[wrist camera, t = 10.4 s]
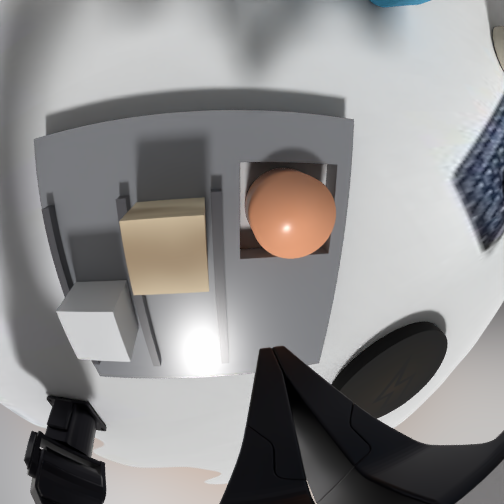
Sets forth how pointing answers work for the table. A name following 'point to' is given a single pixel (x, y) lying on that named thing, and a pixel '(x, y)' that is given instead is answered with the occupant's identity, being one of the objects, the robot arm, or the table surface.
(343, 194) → the grey railed board
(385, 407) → the wireless charger
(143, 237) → the beech slider
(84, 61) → the table surface
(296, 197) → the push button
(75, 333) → the white cube
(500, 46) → the travel mug
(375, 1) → the data package
